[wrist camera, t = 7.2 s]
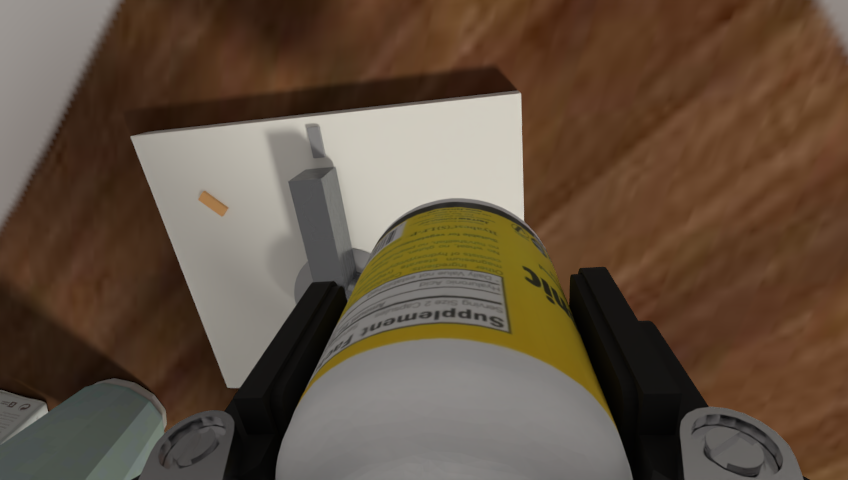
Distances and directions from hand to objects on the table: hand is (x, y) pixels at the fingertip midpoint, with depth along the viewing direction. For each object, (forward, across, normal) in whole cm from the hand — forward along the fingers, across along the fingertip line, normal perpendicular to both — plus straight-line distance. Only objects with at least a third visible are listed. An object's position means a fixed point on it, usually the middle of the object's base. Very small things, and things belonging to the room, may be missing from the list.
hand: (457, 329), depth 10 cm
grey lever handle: (+12, +7, +3) cm, 14 cm away
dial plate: (+13, +7, +4) cm, 16 cm away
